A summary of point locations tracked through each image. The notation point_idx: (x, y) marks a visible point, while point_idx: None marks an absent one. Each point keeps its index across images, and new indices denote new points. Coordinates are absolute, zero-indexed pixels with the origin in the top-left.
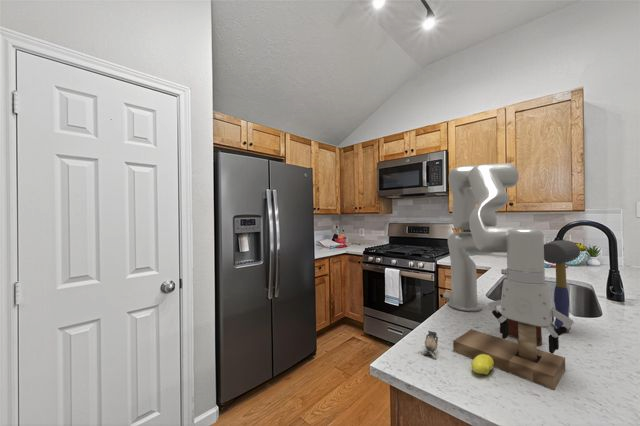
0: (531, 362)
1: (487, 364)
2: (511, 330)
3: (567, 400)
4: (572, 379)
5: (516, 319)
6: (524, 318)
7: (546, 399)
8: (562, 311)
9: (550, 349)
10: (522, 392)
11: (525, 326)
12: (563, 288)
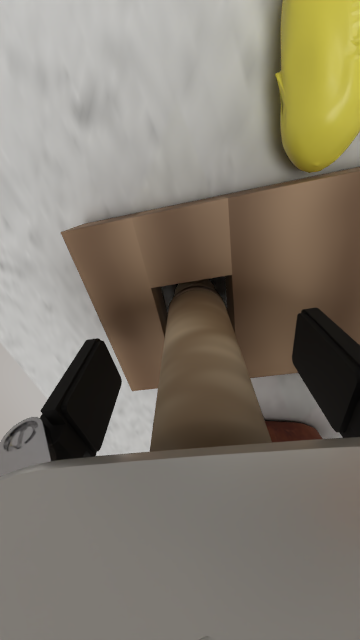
0: (164, 274)
1: None
2: (299, 437)
3: (30, 193)
4: (104, 332)
5: (293, 468)
6: (185, 538)
7: (49, 114)
8: None
9: (87, 347)
10: (115, 58)
11: (198, 422)
12: None
